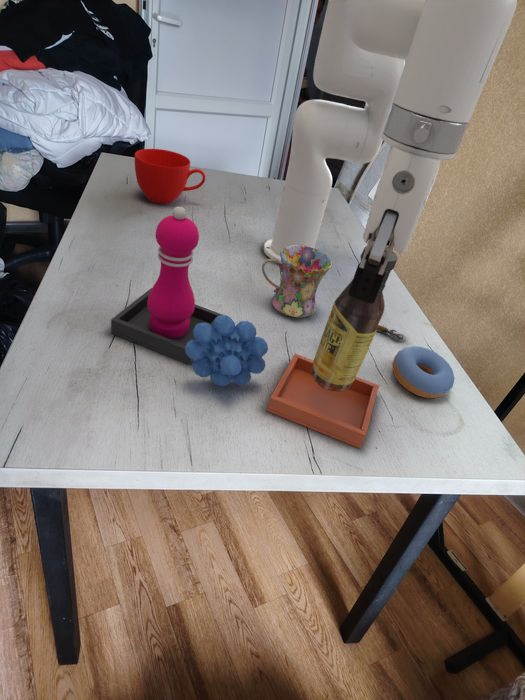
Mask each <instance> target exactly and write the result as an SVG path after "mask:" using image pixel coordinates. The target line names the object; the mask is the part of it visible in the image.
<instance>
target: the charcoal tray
mask: <svg viewBox="0 0 525 700" xmlns="http://www.w3.org/2000/svg"><path fill="white" fill-rule="evenodd" d="M151 289H152V287H150V288H149V289H148V290H147V291H146V292H144V293H143V294H141V295H140V296H139V297H138V298H136V299H135V300H134V301H133V302H132V303H130V304H129V305H128V306H126V307H125V308H124V309H122V310H121V311H120V312H119V313H118V314H116V315H115V316H113V317H112V318H111V319H110V334H113V335H115V336H117V337H120V338H122V339H125V340H126V341H127V340H128V341H129V342H132V343H135V344H138V345H140V346H142V347H144V348H147V349H149V350H152V351H155V352H158V353H160V354H161V355H162V354H163V355H164V356H167V357H170V358H172V359H174V360H178V361H180V362H182V363H185V364H188V365H192V364H193V362H194V360H193V359H191V358H189V357H188V355H187V354H186V352H185V346H186V344H187V342H189V341H190V340H196V339H195V338H194V335H193V330H194V327H195V326H196V325H197V324H198V323H208V324H210V325H211V326H212V327H213V322H214V320H215V318H216V317H218V316H219V315H224V314H223V313H220V312H217V311H214V310H211V309H209V308H207V307H204V306H201V305H198V304H196V303H195V309H194V312H193V314H192V315H191V316H190V317H189V318H190V324H189V330H188V332H187V333H186V334H185V335H183V336H181V337H178V338H166V337H163V336H161V335H158V334H156V333H154V332H153V331H152V330H151V329H150V326H149V323H150V315H151V313H150V311H149V309H148V306H147V302H148V296H149V293H150V291H151Z"/></svg>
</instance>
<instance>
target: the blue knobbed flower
mask: <svg viewBox="0 0 525 700" xmlns="http://www.w3.org/2000/svg"><path fill="white" fill-rule="evenodd" d="M193 335H194V338H195V339H196V340H190V341H189V342H187V344H186V346H185V352H186V354H187V355H188V357H189V358H191V359H193V360H194V361H193V362H192V363H191V367H192V371H193V372H194V374H195V375H196V376H198V377H201V378H210V381H211V382H212V383H213V384H214V385H215V386H217V387H222V388H223V387H226V386H228V385H229V384H230V383H231V381H233V382H234V384H236V385H238V386H246V385H247V384H248V383H250V381H251V379H252V374H253V375H259V374H261V373H262V372H264V371H265V369H266V361H265V359H264V358H263V357H264V356H265V355H266V354H267V353H268V350H269V345H268V343H267V341H266V340H265V339H264V338H263V337H262V336H261V337H260V336H257V329H256V327H255V325H254V324H253V323H252V322H250V321H248V320H241V321H239V322H238V323H237V324H236V322H235V321H234V320H233V319H232V317H231V316H229V315H226V314H223V315H219V316H218V317H216V318H215V320H214V322H213V327H212V326H211V325H210V324H208V323H198V324H197V325H196V326H195V327H194V330H193Z"/></svg>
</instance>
